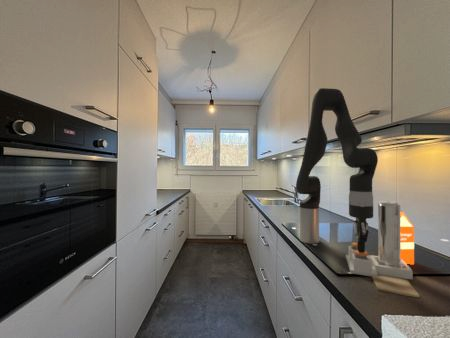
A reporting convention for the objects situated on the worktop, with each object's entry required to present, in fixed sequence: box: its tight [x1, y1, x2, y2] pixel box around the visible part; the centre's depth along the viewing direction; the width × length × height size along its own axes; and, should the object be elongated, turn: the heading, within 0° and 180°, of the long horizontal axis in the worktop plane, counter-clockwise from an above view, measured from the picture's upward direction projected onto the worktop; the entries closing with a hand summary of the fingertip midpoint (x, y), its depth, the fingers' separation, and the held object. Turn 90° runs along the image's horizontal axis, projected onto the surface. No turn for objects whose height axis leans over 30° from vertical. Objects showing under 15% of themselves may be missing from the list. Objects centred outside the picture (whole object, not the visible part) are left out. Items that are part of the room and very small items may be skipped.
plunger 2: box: [354, 250, 369, 260], centre depth 80 cm, size 4×4×5 cm
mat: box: [370, 274, 420, 298], centre depth 70 cm, size 10×10×1 cm
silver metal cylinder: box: [377, 200, 401, 268], centre depth 80 cm, size 6×6×25 cm
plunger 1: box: [350, 241, 357, 250], centre depth 88 cm, size 4×4×5 cm
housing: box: [345, 245, 414, 281], centre depth 82 cm, size 15×18×5 cm
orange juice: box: [400, 211, 415, 265], centre depth 89 cm, size 8×9×20 cm
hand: (361, 251), depth 80 cm, fingers closed
